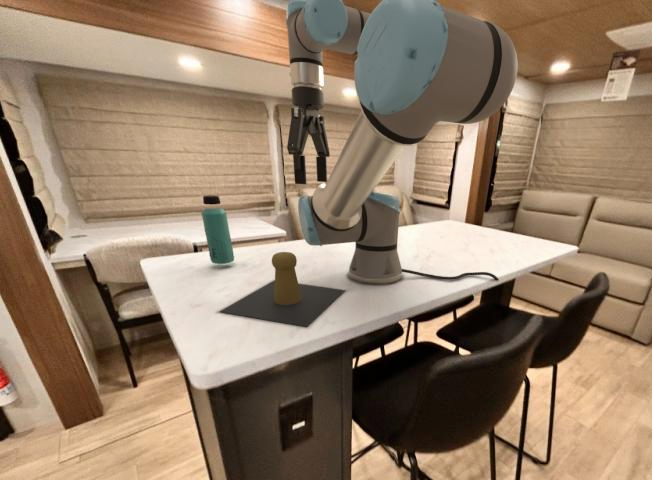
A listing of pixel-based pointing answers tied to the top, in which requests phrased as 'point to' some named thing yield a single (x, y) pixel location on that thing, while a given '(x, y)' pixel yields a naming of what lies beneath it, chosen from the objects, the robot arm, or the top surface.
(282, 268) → the cork
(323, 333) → the top surface
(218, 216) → the beverage bottle
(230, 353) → the top surface
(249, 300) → the felt mat
